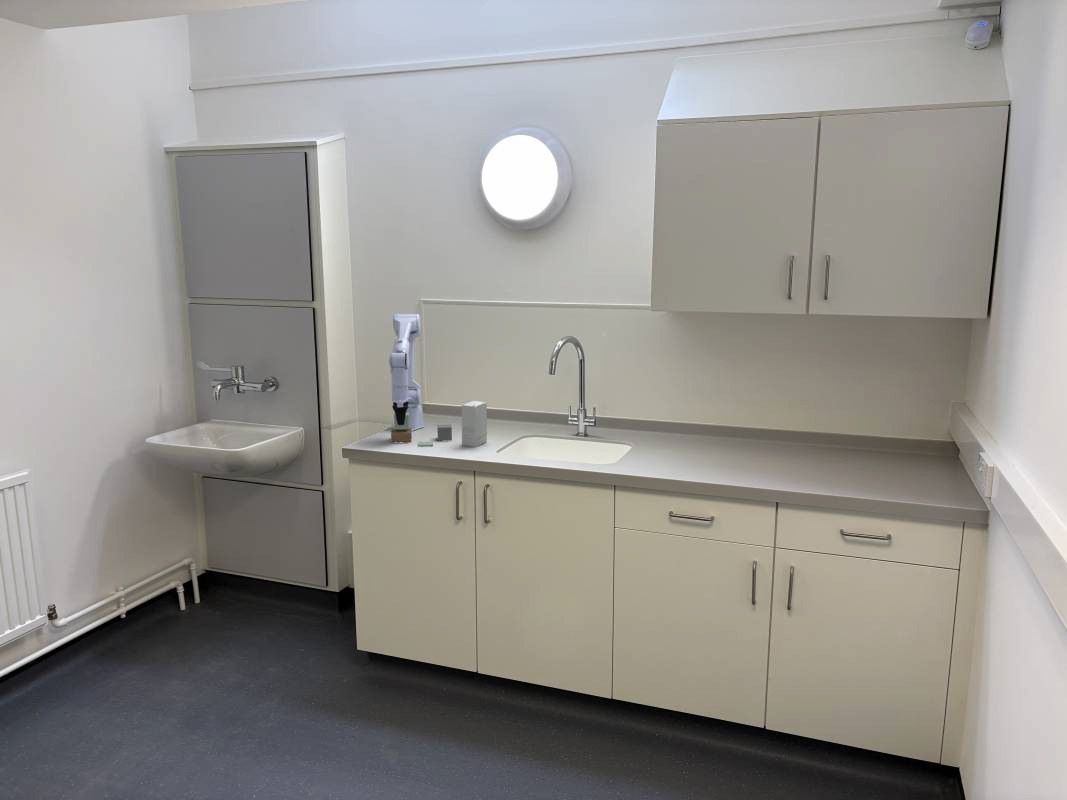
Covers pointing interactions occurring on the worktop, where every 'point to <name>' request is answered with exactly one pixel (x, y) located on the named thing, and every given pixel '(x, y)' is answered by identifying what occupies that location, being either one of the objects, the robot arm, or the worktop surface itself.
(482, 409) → the skincare box
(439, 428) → the charcoal cube
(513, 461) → the worktop surface
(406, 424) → the sage cube
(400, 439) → the walnut base
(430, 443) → the card
